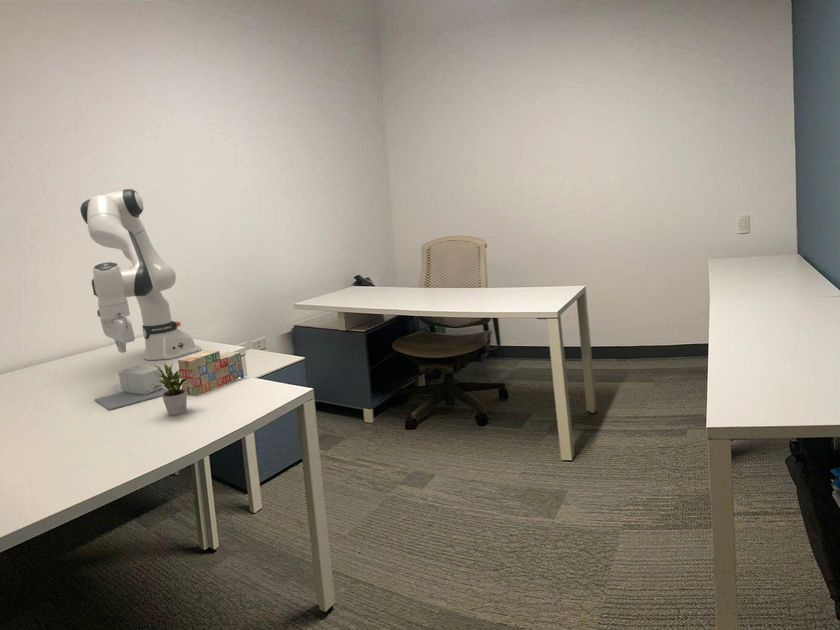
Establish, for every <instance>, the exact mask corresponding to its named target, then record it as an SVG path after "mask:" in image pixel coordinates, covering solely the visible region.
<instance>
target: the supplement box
mask: <svg viewBox="0 0 840 630" xmlns="http://www.w3.org/2000/svg"><path fill="white" fill-rule="evenodd" d="M152 371H153V372H152ZM155 372H156V373H158V374H159V375H160V374H161V372H160V371H159V369H158V368H157V367H151V366H150V367H149V366H143V365H134V366H132V367H129V368H126V369H122V370H119V371H118V378H119V383H120V384H119V385H120V388H121V389H120V391H121V392H130V393H137V394H143V395H146V394H148V393H151V392H153V391H156V390H159V389H162V388H164V384H162V383H160V382H159V381H160V379H161V380H162V379H163V378H161V377H160V376H161V375H160V376H159V375H158V374H156V373H155ZM149 373H151V374H149ZM154 374H155V375H154ZM157 376H158V377H159V378H160V379H159V378H158V377H157ZM151 384H152V385H151ZM158 385H161V386H159V387H157V388H156V389H154V390H153V388H154V387H155V386H158Z"/></svg>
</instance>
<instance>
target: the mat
mask: <svg viewBox="0 0 840 630" xmlns="http://www.w3.org/2000/svg"><path fill="white" fill-rule="evenodd" d="M164 390H165V391H164ZM167 391H168V389H167V388H166V387H163V388H162V389H159V390H156V391H153V392H151V393H148V394H146V395H143V394H137V393H130V392H123V391H121V392H117V393H113V394H108V395H105V396H102V397H97V398H95V399H94V401H95V402H96V403H97V404H99V405H100V406H101V407H103V408H105V409H107V410H108V411H113V410H117V409H121V408H124V407H127V406H132V405H136V404H138V403H143V402H146V401H151V400H154V399H157V398H161V397H162V394H163V393H165V392H167Z"/></svg>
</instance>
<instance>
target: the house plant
mask: <svg viewBox="0 0 840 630" xmlns="http://www.w3.org/2000/svg"><path fill="white" fill-rule="evenodd" d="M173 362H174V361H172V363H171V365H170V366H169V365H168V364H166V363H165V362H163V366H164V371H165V373H164V371H163V370H162V368H161V367H160V366H159V365H156V364H154V363H153V364H151V365H152V366H155V368H158V369H159V371H160V373H161V374H160V375H161V376H160V375H159V374H158V373H156V372H155V373H156V374H158V375H159V376H160V377H161V379H162V380H161V379H160V378H159V377H158V376H157V377H158V378H159V379H160V381H159V382H160V383H162V385H163V388H165V389H168V391H167V392H165V393H163V394H162V400H163V403H164V406H165V409H166V411H167V414H168V415H169V416H179V415H183V414H184V413H186V412H187V405H188V404H187V399H188V398H187V396H188V395H187V390H185V389H183V388H181V387H182V384H183V382H184V381H186V380H187V379H190V378H186V379H183V380H181V376H182V375H183V374H182V375H180V373H181V371H182V368H183V365H182V367H181V370H180V372H179V369H178V370H176V371H175V372H174V373H173V371H172V369H173V367H172V366H173ZM191 365H192V364H191ZM191 365H190V366H191ZM188 367H189V366H188ZM188 367H187V368H188ZM187 368H186V369H187ZM185 371H186V370H185ZM185 371H184V372H185ZM152 372H153V371H152ZM184 372H183V373H184ZM149 374H151V373H149ZM154 375H155V374H154ZM191 381H192V380H191ZM188 382H190V381H188ZM188 382H187V383H188ZM187 383H186V384H187ZM151 385H152V384H151ZM159 386H161V385H158V386H155V387H154V388H153V390H154V389H156V388H157V387H159ZM183 387H184V386H183ZM164 391H165V390H164Z"/></svg>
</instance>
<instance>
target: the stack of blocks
mask: <svg viewBox="0 0 840 630" xmlns="http://www.w3.org/2000/svg"><path fill="white" fill-rule="evenodd" d="M177 362H178V370H179V372H180V370H181V367H182V365H183V368H182V371H181V373H180V375H182V374H183V375H182V376H181V379H180V381H181V380H183V379H186V378H190V379H187V380H186V381H184V382H183V384H182V385H181V387H182V388H183V389H185V390H187V396H191V397H192V396H194V397H197V396H199V395H202V394H205V393H207V392H208V393H209V392H210V391H213V390H216V389H218V388H220V387H223V386H225V385H228V384H230V383H233V382H235V381H237V380H236V379H238V378H239V377H243V378H244V375H245V374H244V366H243V361H242V356H241V351H240V352H238V351H225V352H223V353H221V352H220V350H214V349H213V350H212V349H205V350H203V351H202V350H201V351H198V352H195V353H194V354H191V355H188V356H187V355H186V356H185V357H181V358H179V359H177ZM191 364H192V365H191ZM190 365H191V366H190ZM188 366H189V367H188ZM187 367H188V368H187ZM186 368H187V369H186ZM185 370H186V371H185ZM184 371H185V372H184ZM183 372H184V373H183ZM191 380H192V381H191ZM234 380H235V381H234ZM238 380H239V379H238ZM188 381H190V382H188ZM232 381H233V382H232ZM187 382H188V383H187ZM229 382H230V383H229ZM186 383H187V384H186ZM227 383H228V384H227ZM224 384H225V385H224ZM222 385H223V386H222ZM183 386H184V387H183ZM217 387H218V388H217ZM182 388H181V389H182ZM215 388H216V389H215Z"/></svg>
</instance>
